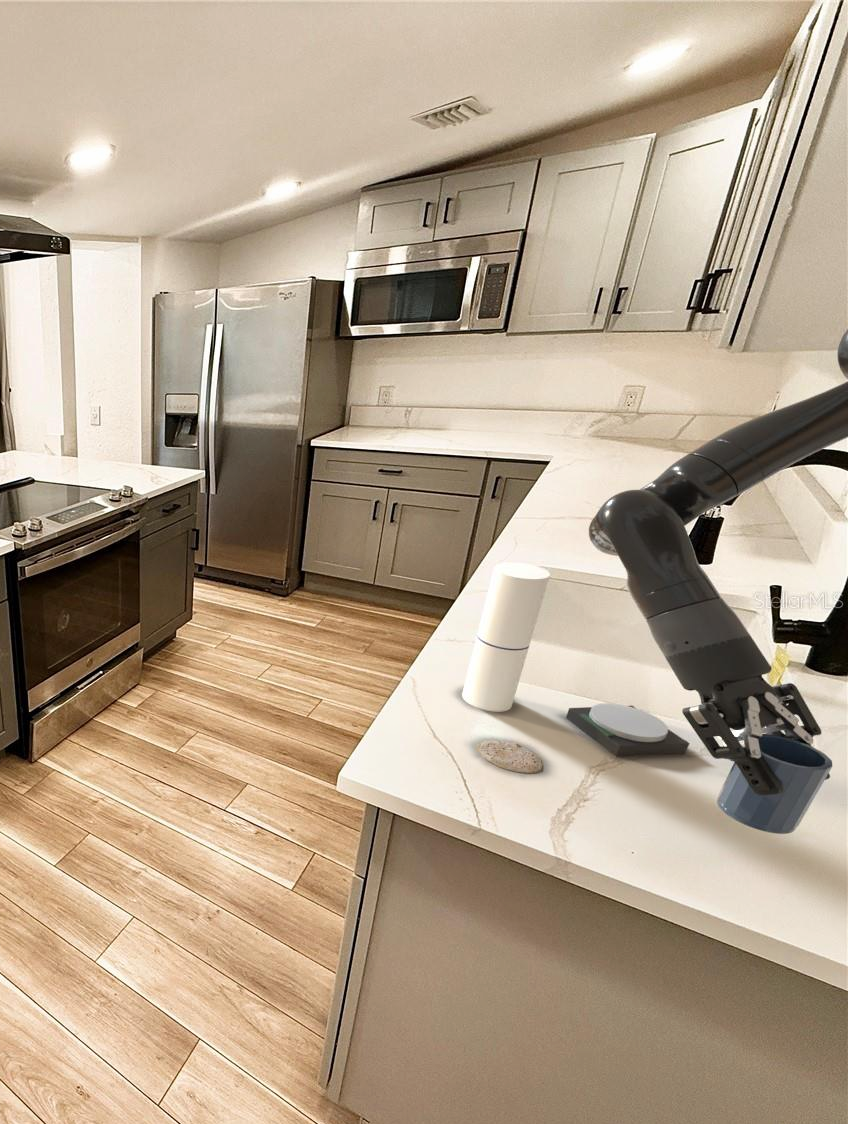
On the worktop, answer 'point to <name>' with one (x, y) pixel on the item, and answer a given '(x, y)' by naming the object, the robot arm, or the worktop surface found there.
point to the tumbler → (798, 777)
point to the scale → (627, 730)
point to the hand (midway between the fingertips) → (794, 786)
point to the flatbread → (510, 756)
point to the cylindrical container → (504, 635)
